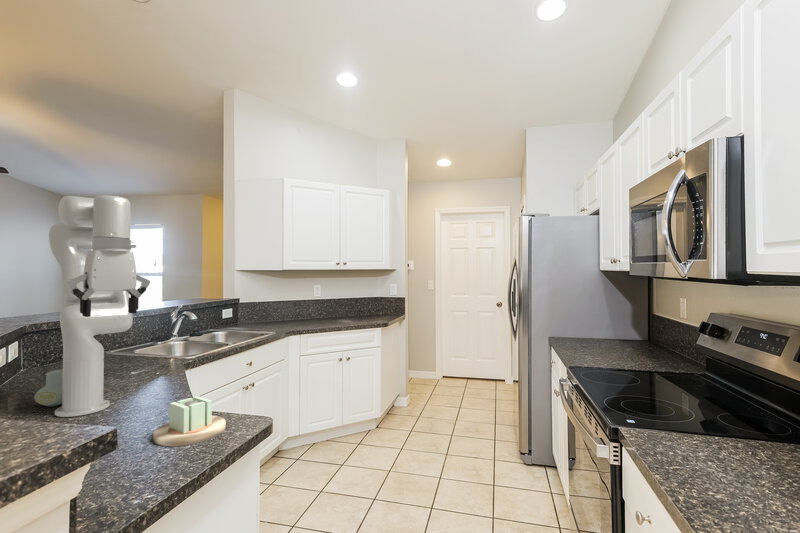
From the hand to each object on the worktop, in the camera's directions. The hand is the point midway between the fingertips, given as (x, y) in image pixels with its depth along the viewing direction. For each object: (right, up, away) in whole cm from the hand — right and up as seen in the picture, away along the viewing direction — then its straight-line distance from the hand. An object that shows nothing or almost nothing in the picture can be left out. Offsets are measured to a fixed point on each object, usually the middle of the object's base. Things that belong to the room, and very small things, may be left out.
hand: (110, 314), depth 95 cm
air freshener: (-35, -31, +25) cm, 54 cm away
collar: (+19, -28, +2) cm, 34 cm away
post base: (+19, -30, +2) cm, 36 cm away
